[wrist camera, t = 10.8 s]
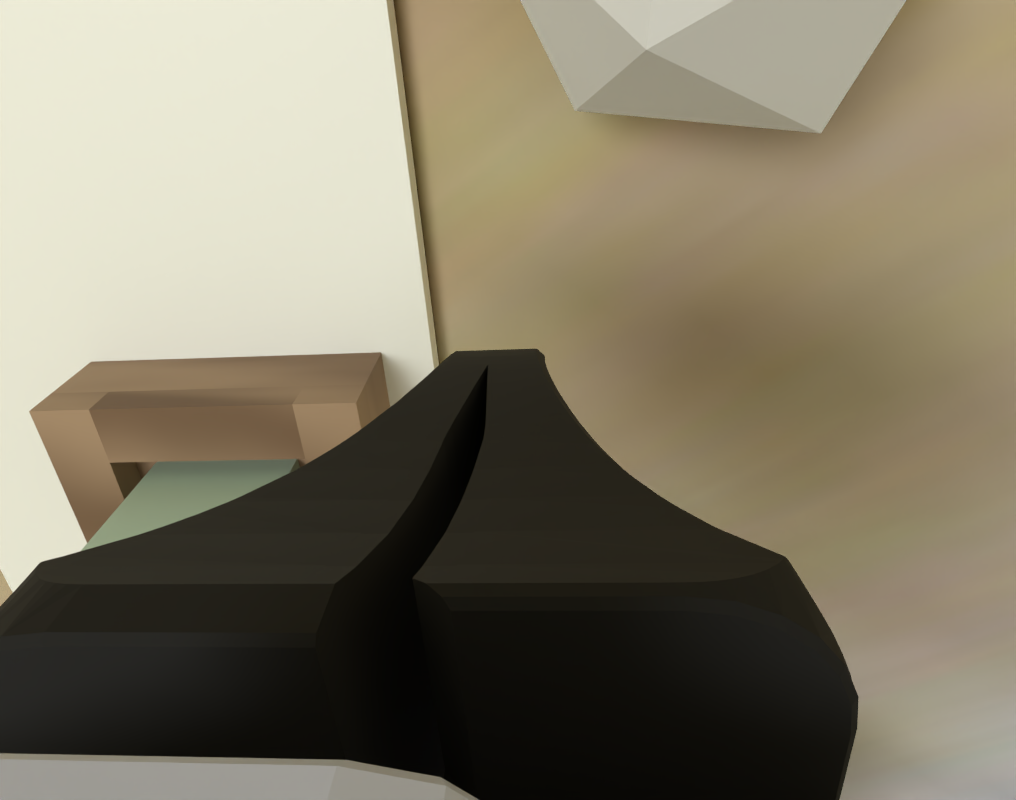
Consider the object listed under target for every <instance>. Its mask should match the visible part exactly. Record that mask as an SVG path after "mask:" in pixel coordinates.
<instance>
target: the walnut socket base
mask: <svg viewBox="0 0 1016 800" xmlns="http://www.w3.org/2000/svg"><path fill="white" fill-rule="evenodd" d="M388 408H390V403H389V397H388V390H387V384H386V378H385V372H384V366H383V360H382V354H381V352H375V353H344V354H313V355H282V356H251V357H220V358H189V359H157V360H126V361H95V362H90V363H89V364H88V365H86V366H85V367H84V368H83V369H81V370H80V371H79V372H77V373H76V374H75V375H74V376H72V377H71V378H70V379H69V380H67V381H66V382H65V383H64V384H62V385H61V386H60V387H59V388H57V389H56V390H55V391H54V392H52V393H51V394H50V395H49V396H47V397H46V398H45V399H44V400H42V401H41V402H40V403H39V404H37V405H36V406H35V407H34V408H32V409H31V410H30V411H29V413H30V415H31V417H32V419H33V422H34V424H35V426H36V428H37V431H38V433H39V435H40V437H41V440H42V442H43V444H44V446H45V449H46V451H47V453H48V456H49V458H50V460H51V462H52V465H53V467H54V469H55V471H56V474H57V476H58V478H59V480H60V483H61V485H62V487H63V489H64V492H65V494H66V496H67V499H68V501H69V503H70V505H71V508H72V510H73V512H74V514H75V517H76V519H77V521H78V523H79V526H80V528H81V530H82V532H83V535H84V537H85V539H86V542H87V543H88V542H89V541H90V539H91V538H92V537H93V536H94V535H95V534H96V532H97V531H98V530H99V529H100V528H101V527H102V525H103V524H104V523H105V522H106V521H107V520H108V518H109V517H110V516H111V515H112V514H113V512H114V511H115V510H116V509H117V508H118V507H119V505H120V504H121V503H122V502H123V501H124V500H125V498H126V497H127V496H128V495H129V494H130V493H131V491H132V490H133V489H134V488H135V487H136V486H137V484H138V483H139V482H140V481H141V480H142V478H143V477H144V476H145V475H146V474H147V473H148V471H149V470H150V469H151V468H152V467H153V466H154V464H155V463H156V462H168V461H221V460H273V459H298V462H299V466H300V467H302V466H304V465H305V464H307V463H309V462H311V461H312V460H314V459H316V458H317V457H319V456H321V455H323V454H324V453H326V452H328V451H329V450H331V449H333V448H334V447H336V446H337V445H339V444H340V443H342V442H343V441H345V440H346V439H348V438H349V437H351V436H352V435H354V434H355V433H357V432H358V431H359V430H361V429H362V428H363V427H365V426H366V425H367V424H369V423H370V422H371V421H373V420H374V419H375V418H376V417H378V416H379V415H380V414H382V413H383V412H384V411H386V410H387V409H388Z"/></svg>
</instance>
